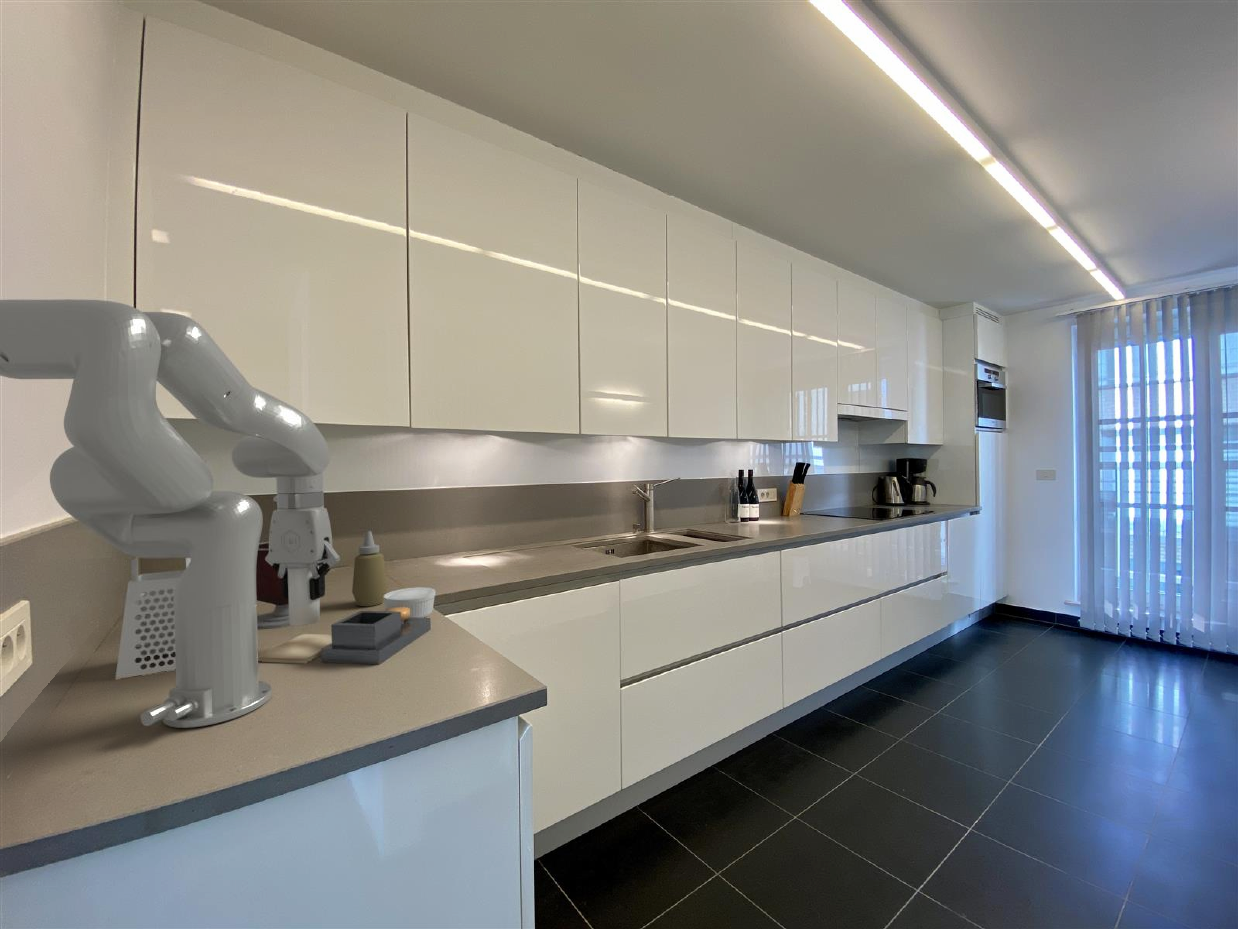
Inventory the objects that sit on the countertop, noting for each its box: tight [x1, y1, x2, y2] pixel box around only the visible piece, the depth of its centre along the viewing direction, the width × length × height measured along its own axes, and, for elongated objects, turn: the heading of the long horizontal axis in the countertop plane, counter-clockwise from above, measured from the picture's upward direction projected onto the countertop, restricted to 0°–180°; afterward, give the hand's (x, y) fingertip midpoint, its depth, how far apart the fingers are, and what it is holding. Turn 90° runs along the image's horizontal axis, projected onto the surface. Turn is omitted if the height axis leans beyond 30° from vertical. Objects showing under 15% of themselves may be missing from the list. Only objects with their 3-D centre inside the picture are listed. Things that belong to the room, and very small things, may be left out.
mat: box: [258, 633, 332, 664], centre depth 98 cm, size 12×10×1 cm
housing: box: [320, 610, 431, 665], centre depth 100 cm, size 18×11×6 cm, turn 173°
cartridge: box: [286, 563, 321, 627], centre depth 98 cm, size 5×5×12 cm
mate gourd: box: [256, 541, 291, 630], centre depth 116 cm, size 16×14×20 cm
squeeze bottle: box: [351, 530, 388, 607], centre depth 129 cm, size 8×8×18 cm
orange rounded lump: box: [385, 607, 410, 625], centre depth 106 cm, size 5×5×4 cm
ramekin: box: [383, 586, 437, 618], centre depth 119 cm, size 11×11×5 cm
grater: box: [115, 556, 191, 678], centre depth 93 cm, size 10×10×20 cm
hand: (303, 596), depth 98 cm, fingers closed on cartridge, 5 cm apart
